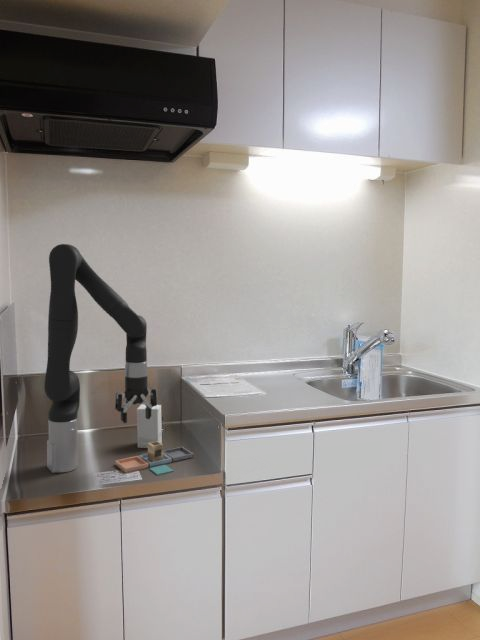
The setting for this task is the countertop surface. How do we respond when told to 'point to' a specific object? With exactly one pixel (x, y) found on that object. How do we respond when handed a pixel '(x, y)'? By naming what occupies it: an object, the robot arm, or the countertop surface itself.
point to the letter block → (155, 451)
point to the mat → (161, 469)
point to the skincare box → (149, 426)
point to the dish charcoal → (178, 454)
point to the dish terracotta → (131, 464)
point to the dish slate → (152, 464)
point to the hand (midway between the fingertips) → (136, 420)
